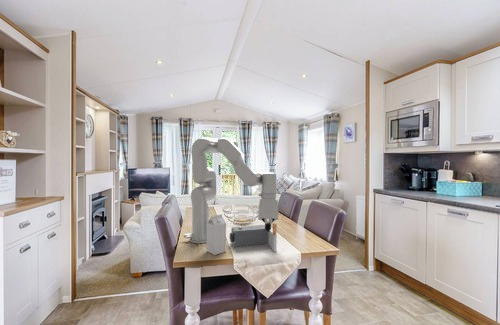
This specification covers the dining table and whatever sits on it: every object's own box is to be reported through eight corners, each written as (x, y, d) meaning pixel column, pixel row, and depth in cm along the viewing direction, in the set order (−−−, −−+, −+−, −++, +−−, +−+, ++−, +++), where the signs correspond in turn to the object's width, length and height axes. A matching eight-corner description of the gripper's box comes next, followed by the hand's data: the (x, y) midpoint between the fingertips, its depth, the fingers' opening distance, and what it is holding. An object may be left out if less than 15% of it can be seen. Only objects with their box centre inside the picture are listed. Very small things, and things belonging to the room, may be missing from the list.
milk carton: (206, 251, 139) (206, 215, 138) (217, 248, 144) (217, 213, 143) (214, 255, 133) (215, 217, 133) (225, 251, 138) (226, 215, 138)
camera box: (232, 247, 144) (232, 229, 144) (228, 243, 152) (228, 226, 152) (269, 244, 151) (269, 227, 151) (263, 239, 159) (264, 223, 159)
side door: (277, 251, 139) (277, 224, 138) (273, 251, 138) (273, 224, 138) (271, 244, 151) (272, 219, 150) (268, 244, 150) (268, 219, 150)
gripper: (254, 197, 136) (254, 233, 136) (284, 197, 136) (283, 233, 137) (253, 194, 143) (253, 228, 144) (281, 195, 144) (280, 229, 144)
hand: (267, 230), depth 140 cm, fingers closed
